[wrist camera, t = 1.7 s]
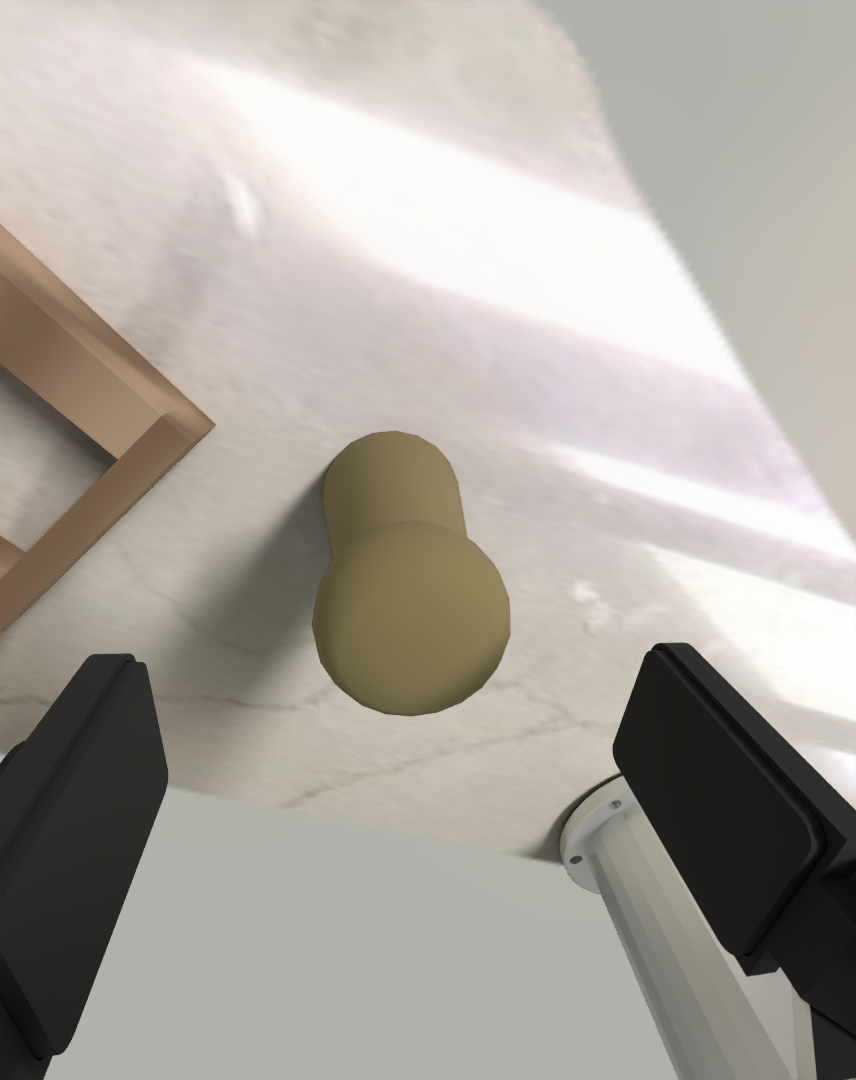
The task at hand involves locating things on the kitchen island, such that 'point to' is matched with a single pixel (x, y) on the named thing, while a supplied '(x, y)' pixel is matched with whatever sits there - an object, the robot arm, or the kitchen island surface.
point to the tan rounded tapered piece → (405, 582)
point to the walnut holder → (83, 414)
